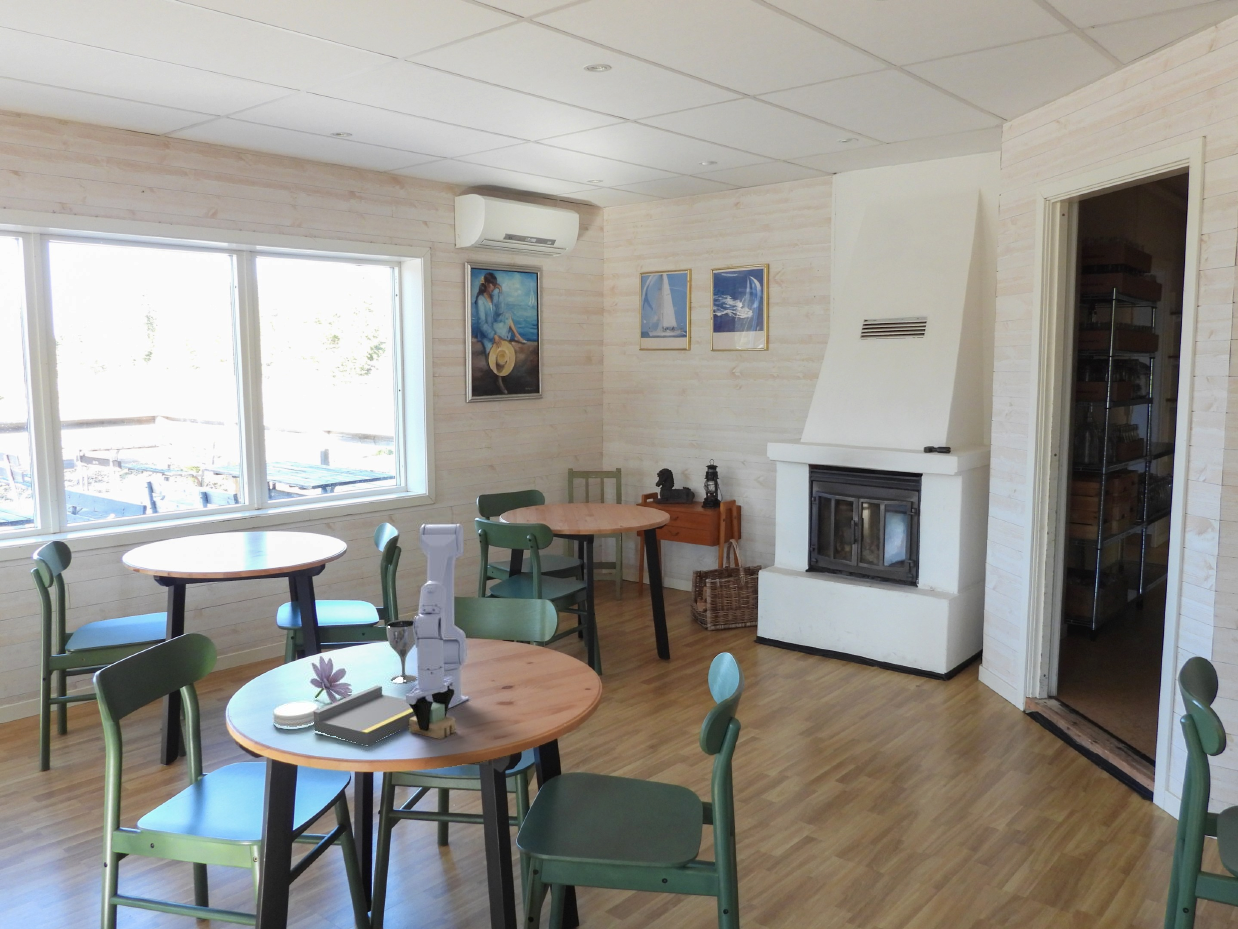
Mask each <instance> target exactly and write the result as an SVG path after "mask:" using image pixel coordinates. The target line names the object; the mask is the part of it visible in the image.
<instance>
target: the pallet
mask: <svg viewBox="0 0 1238 929" xmlns="http://www.w3.org/2000/svg"><path fill="white" fill-rule="evenodd" d="M408 729H409V733H413V734H416V733H417V734H418V735H421V736H425V737H431V738H434V739H438V740H442V739H444V738H445V737H447V736H450V734H454V733H455V732H456V718H455V717H454V718H453V717H450V716H446V717H445V718H443V719H441V720H439V721H437V722H435V723H430V722H429V730H427V731H424V730H420V729H419V725H418V722H417V719H416V716H414V717H412V718H410V719H409V728H408Z"/></svg>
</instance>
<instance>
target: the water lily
mask: <svg viewBox="0 0 1238 929" xmlns="http://www.w3.org/2000/svg"><path fill="white" fill-rule="evenodd" d="M318 663H319V665H317V664H316V663H314V662H311V666H312V670H313V672H314V674H315V676H316V677H317V678H314V677H313V678H311V680H310V681H309V683H310V684H311V685H312V686H313V687H315V688H318V689H320V690H319V691H318V692H317V693H316V695H315V696H314V697H315V698H317V697H318V698H319V696H320V695H321V694H322V693H323V692H324V691H325V693H326V696H327V698H328V700H329V702H330V703H331V704H333V703H335V702H338V701H339V700H338V698H337V696H339V697H341V698H343V699H345V698H348V697H350V694H348V693H352V692H353V689H351V687H352V686H353V685H352V684H351V683H348V682H340V681H341V680H342V679H343V678H344V677H345V676H346V674H347V671H346V669H345V668H343V667H342V668H339V669H338V668H337V670H335V671H334V664H333V663H334V662H333V660H332V658H331V657H329V658H328V660H327V661H326V659H325V658H324V657H323V655H322V656H321V655H320V656H319V662H318ZM333 671H334V672H333ZM336 695H337V696H336ZM318 698H317V699H318Z"/></svg>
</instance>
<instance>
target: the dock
mask: <svg viewBox="0 0 1238 929" xmlns="http://www.w3.org/2000/svg"><path fill="white" fill-rule="evenodd" d="M349 696H350V695H349ZM414 716H415V714H414V712H413V710H412V708H411V707H410V705H409V704H408V703H406V698H405V699H404V698H401V697H396V696H391V695H387V694H383V685H382V686H381V685H375V686H373V687H369V688H367V689H365V690H362V691H360V692H357V693H356V694H352V695H351V696H350V697H348V698H343V699H340V700H338V702H335V703H333V704H332V703H331V704H329V705H325V706H323V707H322V708H319V709H318V710H316V711H314V725H313V731H314V730H315V731H318V732H321V733H325V734H327V735H330V736H336V737H338V738H341V739H345V740H348V741H352V742H356V743H358V744H357V745H360V744H363V745H362V746H364V745H369V746H371V745H373V744H372V743H374V742H376V741H378V740H380V739H382V738H384V737H386V736H388V737H389V735H390V734H392V735H394V734H396V733H399V732H400V731H403V730H405V729H406V727H407V728H408V726H409V719H410V718H412V717H414ZM404 728H405V729H404ZM402 729H403V730H402ZM399 730H400V731H399ZM395 732H396V733H395ZM393 733H394V734H393ZM390 736H391V735H390ZM386 738H387V737H386ZM384 739H385V738H384ZM382 740H383V739H382ZM348 741H347V742H348ZM380 741H381V740H380ZM352 742H351V743H352ZM378 742H379V741H378ZM356 743H355V744H356ZM376 743H377V742H376ZM370 744H371V745H370ZM374 744H375V743H374Z"/></svg>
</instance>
